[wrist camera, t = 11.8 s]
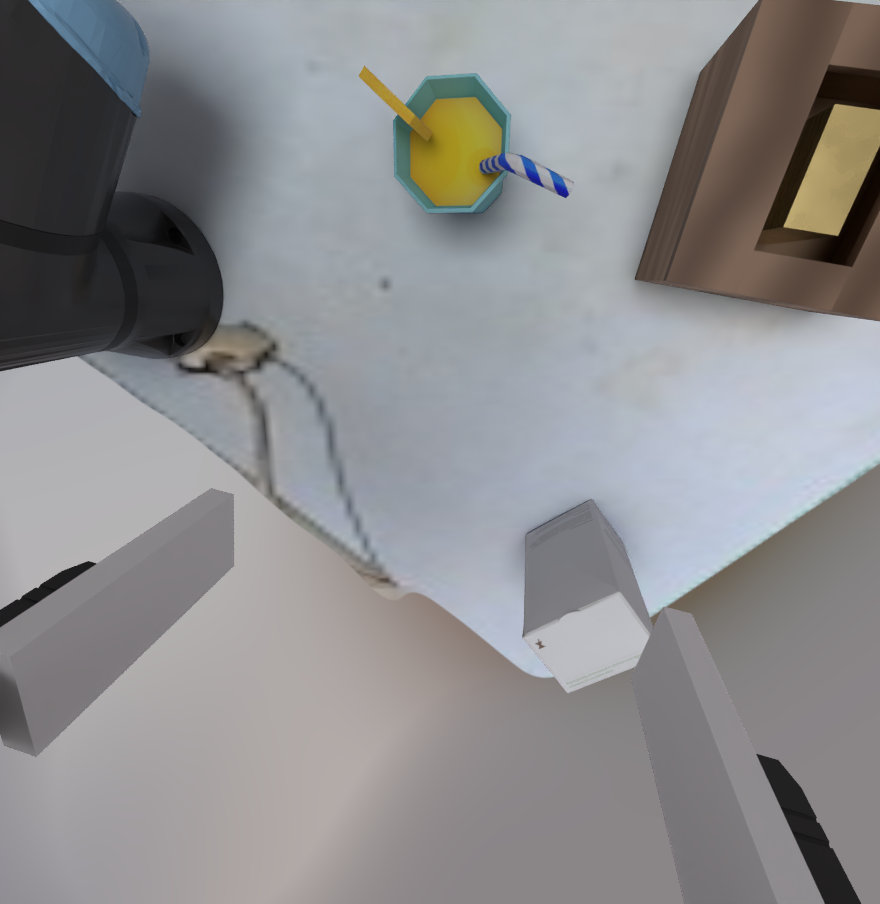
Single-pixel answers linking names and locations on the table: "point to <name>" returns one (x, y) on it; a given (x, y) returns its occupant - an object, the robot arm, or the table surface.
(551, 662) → the skincare box
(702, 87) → the coin box
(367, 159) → the table surface
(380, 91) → the cup
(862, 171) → the block
